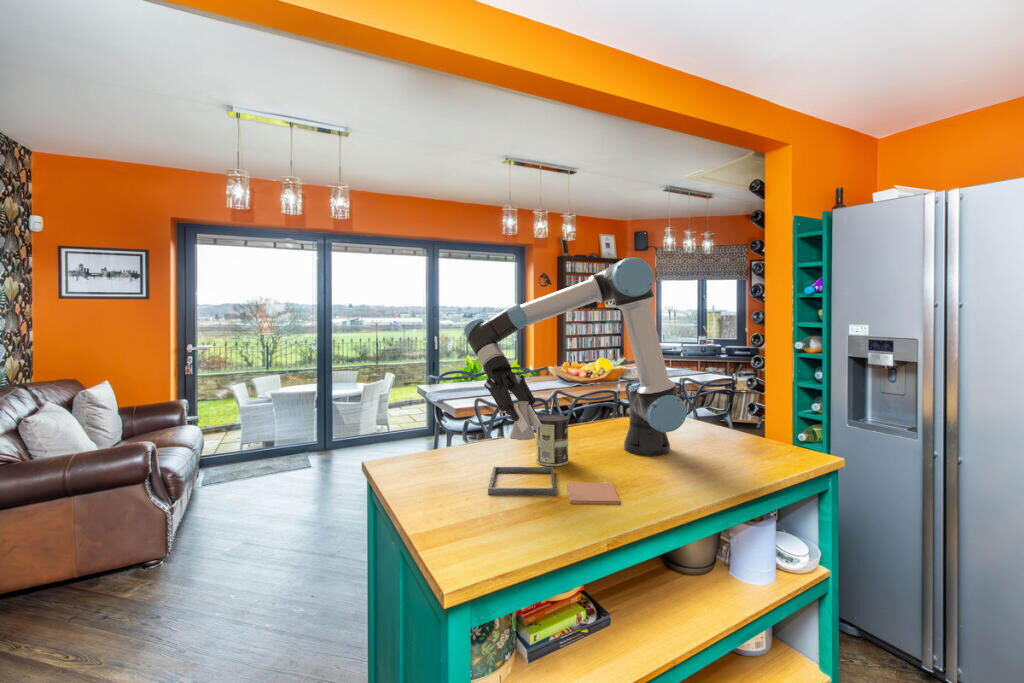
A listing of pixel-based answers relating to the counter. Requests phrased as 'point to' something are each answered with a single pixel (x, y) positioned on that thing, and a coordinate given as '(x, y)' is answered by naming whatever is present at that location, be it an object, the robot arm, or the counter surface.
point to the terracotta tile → (592, 493)
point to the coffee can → (552, 440)
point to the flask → (529, 431)
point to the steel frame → (522, 490)
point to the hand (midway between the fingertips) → (531, 428)
